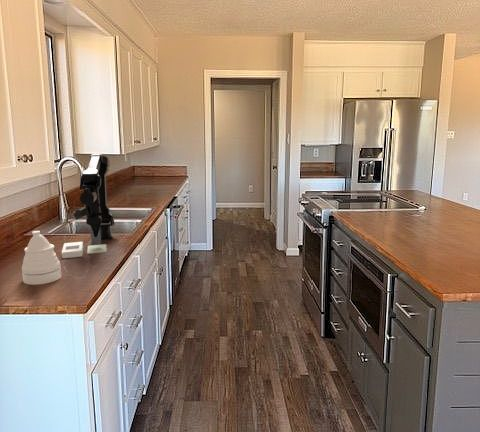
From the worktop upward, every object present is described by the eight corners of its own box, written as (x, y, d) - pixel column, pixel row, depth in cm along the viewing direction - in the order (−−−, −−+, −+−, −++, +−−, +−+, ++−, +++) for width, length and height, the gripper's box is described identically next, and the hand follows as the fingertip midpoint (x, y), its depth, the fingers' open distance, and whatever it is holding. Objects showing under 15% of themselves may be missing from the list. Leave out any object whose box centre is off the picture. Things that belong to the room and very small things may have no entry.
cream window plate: (64, 248, 200) (64, 243, 199) (83, 246, 202) (82, 241, 201) (62, 258, 185) (61, 252, 184) (82, 256, 187) (81, 250, 187)
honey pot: (59, 282, 157) (54, 232, 153) (20, 286, 153) (13, 236, 149) (63, 271, 169) (58, 225, 165) (26, 274, 165) (20, 228, 161)
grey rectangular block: (91, 242, 198) (90, 225, 196) (101, 241, 199) (99, 224, 198) (91, 244, 194) (90, 227, 193) (101, 244, 195) (99, 226, 194)
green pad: (87, 246, 202) (87, 245, 202) (106, 245, 204) (106, 244, 204) (87, 253, 190) (87, 252, 190) (106, 251, 193) (106, 250, 193)
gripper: (74, 199, 199) (77, 232, 202) (71, 206, 182) (75, 242, 185) (99, 197, 202) (102, 230, 206) (100, 204, 185) (103, 240, 188)
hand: (95, 235), depth 196 cm, fingers closed on grey rectangular block, 4 cm apart
